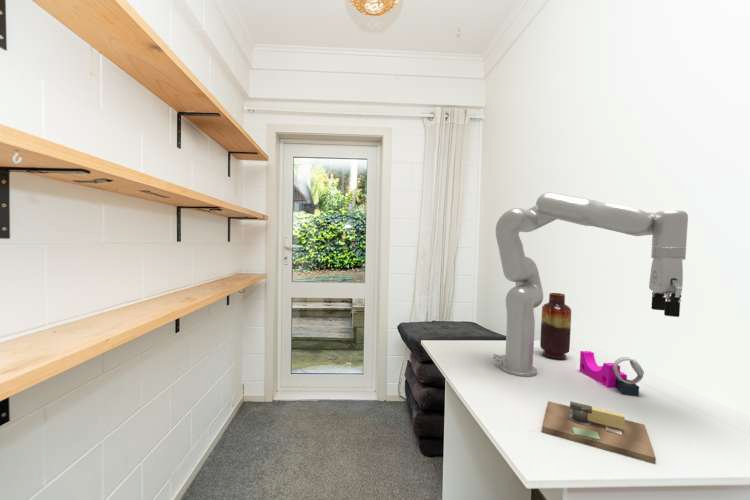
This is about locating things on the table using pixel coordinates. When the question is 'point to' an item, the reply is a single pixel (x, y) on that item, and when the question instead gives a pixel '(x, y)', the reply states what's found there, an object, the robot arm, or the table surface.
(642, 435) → the wooden lever switch board
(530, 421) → the table surface
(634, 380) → the watch
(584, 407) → the lever handle
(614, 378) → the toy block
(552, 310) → the vase
